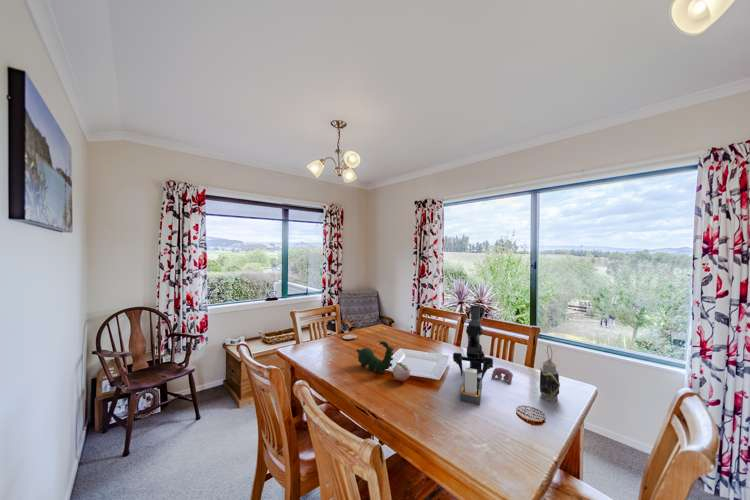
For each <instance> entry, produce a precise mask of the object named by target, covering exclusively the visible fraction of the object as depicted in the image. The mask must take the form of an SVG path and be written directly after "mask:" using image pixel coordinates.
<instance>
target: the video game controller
mask: <svg viewBox="0 0 750 500" xmlns="http://www.w3.org/2000/svg"><path fill="white" fill-rule="evenodd" d="M496 377H497V379H500V380H501V379H502V378H503V380H504V381H505V382H507V383H508V385H510V384H511V383H512V380H513V377H514V373H513V372H512V371H510V370H509V369H508V368H503V367H495V368H494V369H493V371H492V373H491V379H492V380H494V379H495V378H496Z"/></svg>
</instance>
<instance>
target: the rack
mask: <svg viewBox="0 0 750 500" xmlns="http://www.w3.org/2000/svg"><path fill="white" fill-rule="evenodd" d="M482 389H483V379H481V377H479V376H477V395H474V394H469V393H465V376H463V381H462V385H461V388H460V396H459V397H460V398H459V399H460V402H463V403H467V404H471V405H477V406H481V402H482V401H481V399H482Z"/></svg>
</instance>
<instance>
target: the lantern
mask: <svg viewBox="0 0 750 500" xmlns="http://www.w3.org/2000/svg"><path fill="white" fill-rule="evenodd" d="M549 347H550V351H551V354H553V349H552V347H551V345H550V344H547V349H546V350H547V351H546V353H547V354H549ZM547 358H548V359H547V360H545V361H543V362H542V365H543V366H541V367H540V368H539V370H540V372H539V374H540V375H539V391H540V397H541V398H542V399H543V400H545V401H547V402H552V403H553V402H554V403H555V402H558V401H559V400H558V397H559V396H558V395H559V394H560V386H561V382H560V375H559V371H558V370H557V364H556V363H554V362H553V361H552V359H553V355H551V357H550V356H549V355H547Z"/></svg>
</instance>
